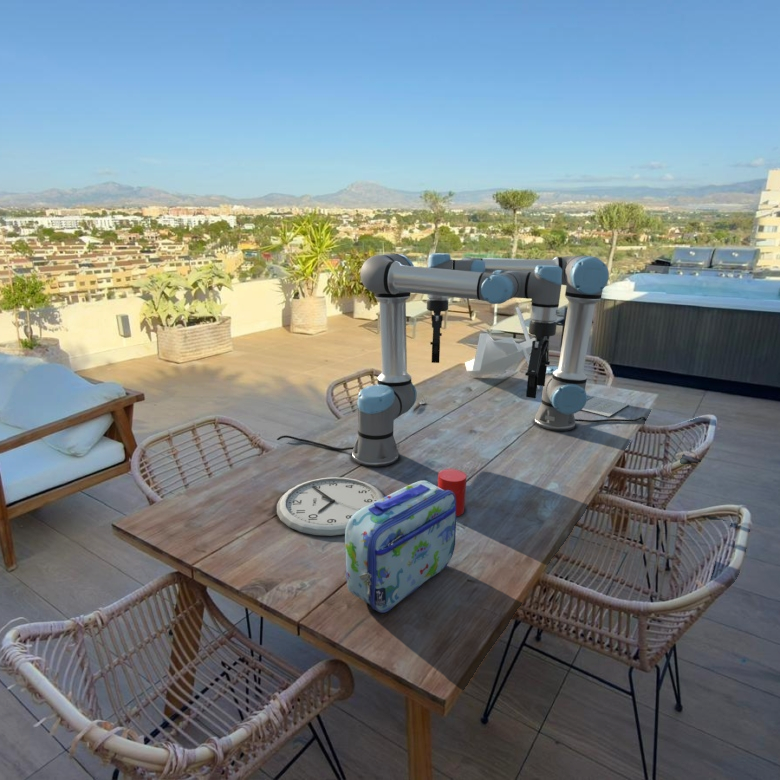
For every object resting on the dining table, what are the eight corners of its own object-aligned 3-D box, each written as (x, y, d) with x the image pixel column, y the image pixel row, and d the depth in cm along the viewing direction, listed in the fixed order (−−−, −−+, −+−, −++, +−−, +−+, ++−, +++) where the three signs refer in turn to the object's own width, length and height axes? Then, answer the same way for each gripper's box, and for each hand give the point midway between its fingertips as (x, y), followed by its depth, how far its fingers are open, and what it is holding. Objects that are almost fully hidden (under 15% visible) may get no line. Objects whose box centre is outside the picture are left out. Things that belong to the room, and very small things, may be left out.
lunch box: (374, 626, 100) (375, 530, 93) (338, 598, 107) (337, 508, 101) (459, 568, 117) (465, 484, 111) (424, 547, 124) (427, 467, 118)
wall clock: (392, 527, 129) (268, 531, 127) (391, 533, 130) (269, 537, 127) (383, 473, 158) (282, 475, 155) (383, 478, 158) (282, 480, 156)
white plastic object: (486, 418, 267) (465, 395, 242) (467, 346, 289) (447, 318, 264) (556, 394, 255) (543, 367, 230) (531, 321, 277) (516, 289, 252)
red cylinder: (447, 499, 147) (449, 466, 144) (469, 509, 142) (472, 474, 139) (431, 509, 142) (432, 475, 138) (453, 519, 137) (455, 484, 134)
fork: (410, 411, 216) (410, 407, 215) (421, 400, 230) (421, 396, 229) (416, 412, 215) (416, 408, 214) (427, 401, 229) (427, 396, 228)
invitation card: (608, 416, 214) (573, 407, 224) (608, 416, 214) (573, 408, 224) (628, 404, 229) (594, 396, 238) (628, 405, 229) (594, 397, 238)
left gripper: (549, 329, 138) (540, 405, 144) (563, 315, 159) (555, 382, 166) (520, 326, 141) (513, 400, 147) (538, 313, 162) (531, 379, 169)
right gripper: (427, 294, 195) (426, 349, 201) (426, 303, 171) (424, 366, 178) (448, 294, 194) (445, 350, 201) (449, 304, 171) (446, 367, 177)
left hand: (535, 391), depth 156 cm, fingers open, 13 cm apart
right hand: (435, 358), depth 189 cm, fingers open, 13 cm apart
